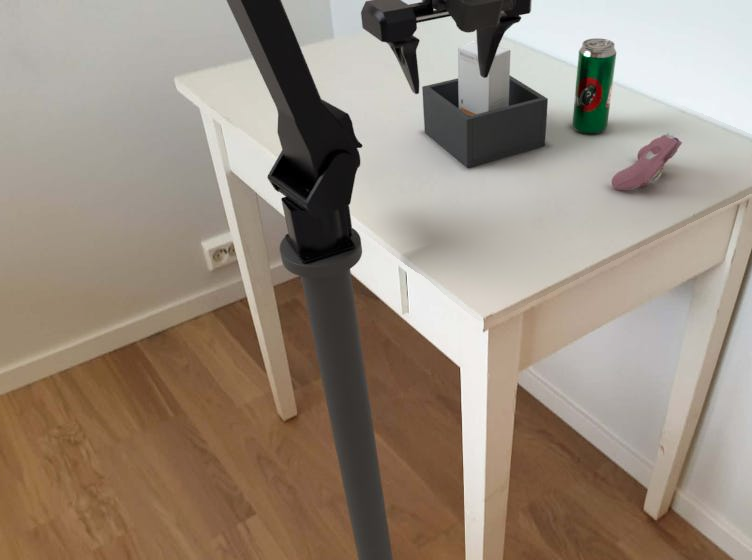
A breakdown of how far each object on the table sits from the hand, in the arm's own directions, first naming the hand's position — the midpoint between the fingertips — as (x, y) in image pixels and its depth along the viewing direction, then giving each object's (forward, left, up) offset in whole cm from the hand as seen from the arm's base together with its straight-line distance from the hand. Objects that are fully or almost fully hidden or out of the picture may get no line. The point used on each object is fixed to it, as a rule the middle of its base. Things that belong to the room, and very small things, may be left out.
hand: (450, 84), depth 86 cm
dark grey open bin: (+10, +9, -13) cm, 19 cm away
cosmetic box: (+10, +9, -12) cm, 18 cm away
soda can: (+25, +4, -13) cm, 29 cm away
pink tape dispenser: (+22, -12, -13) cm, 28 cm away
